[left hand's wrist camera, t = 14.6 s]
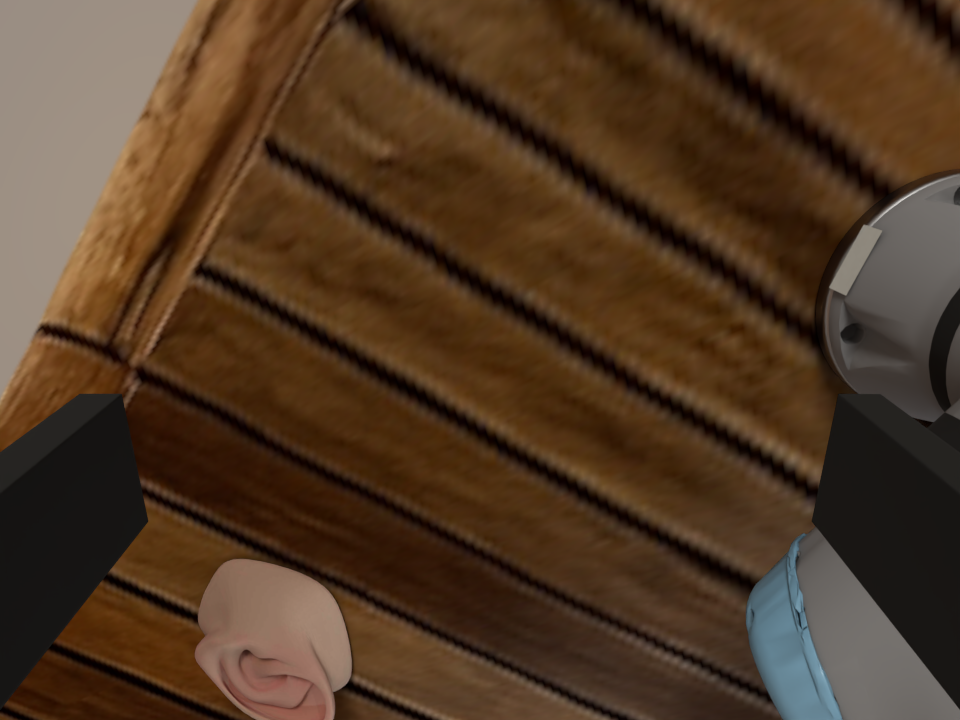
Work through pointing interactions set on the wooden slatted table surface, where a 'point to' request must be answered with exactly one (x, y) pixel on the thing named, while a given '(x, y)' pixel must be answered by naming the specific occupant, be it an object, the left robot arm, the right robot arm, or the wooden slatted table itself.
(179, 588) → the wooden slatted table surface
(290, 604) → the anatomical model
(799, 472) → the wooden slatted table surface
